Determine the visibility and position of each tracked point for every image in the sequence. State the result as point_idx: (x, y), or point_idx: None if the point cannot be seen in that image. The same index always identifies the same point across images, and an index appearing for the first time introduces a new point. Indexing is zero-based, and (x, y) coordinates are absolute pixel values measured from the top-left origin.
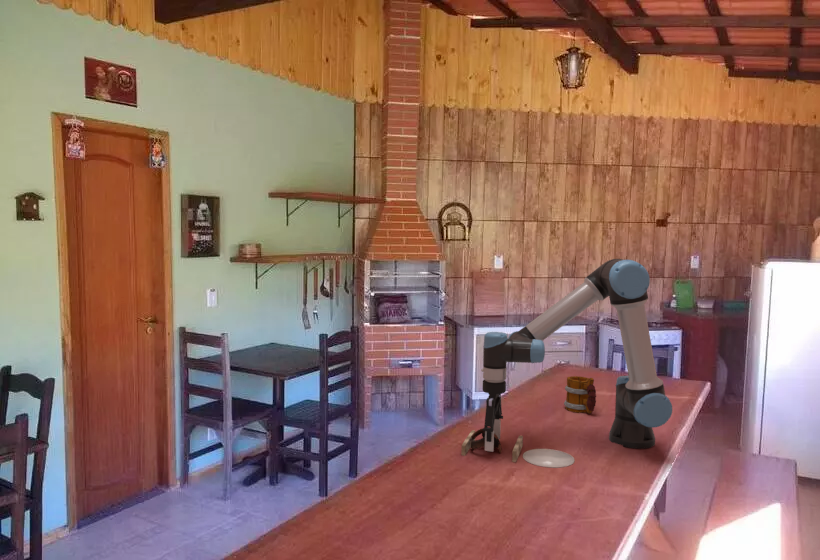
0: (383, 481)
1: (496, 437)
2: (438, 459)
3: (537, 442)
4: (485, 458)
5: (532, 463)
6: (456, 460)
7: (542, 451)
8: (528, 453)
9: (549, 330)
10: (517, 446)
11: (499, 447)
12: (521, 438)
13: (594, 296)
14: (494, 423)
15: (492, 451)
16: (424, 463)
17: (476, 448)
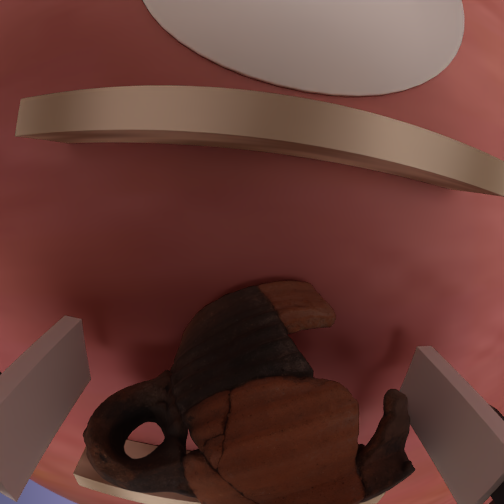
0: None
1: (334, 400)
2: (395, 494)
3: (9, 45)
4: (402, 363)
5: (452, 58)
6: (414, 455)
7: None
8: (268, 47)
9: None
10: (403, 131)
11: (329, 313)
12: (99, 90)
13: None
14: (25, 455)
15: (430, 350)
16: (422, 499)
17: (362, 445)
